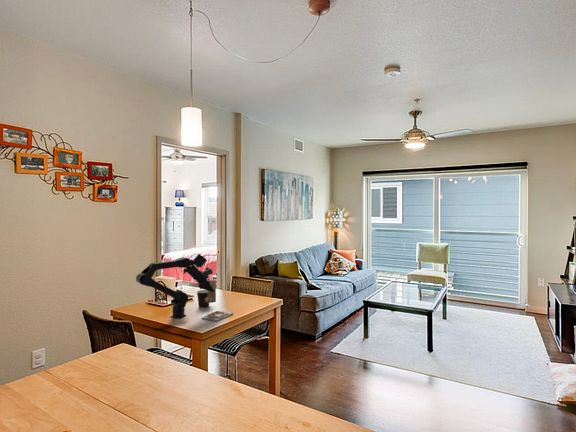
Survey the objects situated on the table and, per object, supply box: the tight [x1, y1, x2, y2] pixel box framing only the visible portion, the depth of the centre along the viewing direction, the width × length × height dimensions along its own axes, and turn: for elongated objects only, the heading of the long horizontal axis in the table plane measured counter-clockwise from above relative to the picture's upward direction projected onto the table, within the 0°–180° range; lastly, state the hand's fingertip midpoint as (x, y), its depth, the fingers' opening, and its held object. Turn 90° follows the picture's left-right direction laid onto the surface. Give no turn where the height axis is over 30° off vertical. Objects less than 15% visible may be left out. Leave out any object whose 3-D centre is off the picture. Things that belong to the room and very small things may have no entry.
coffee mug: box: [196, 289, 210, 309], centre depth 227 cm, size 12×9×10 cm
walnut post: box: [207, 279, 217, 304], centre depth 213 cm, size 5×5×13 cm
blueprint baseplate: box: [201, 310, 234, 323], centre depth 205 cm, size 16×11×2 cm, turn 154°
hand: (213, 290), depth 213 cm, fingers closed on walnut post, 5 cm apart
